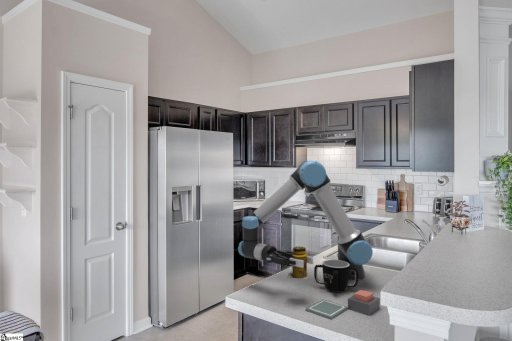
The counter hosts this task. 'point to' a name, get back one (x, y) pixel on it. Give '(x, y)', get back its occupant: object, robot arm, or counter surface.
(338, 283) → the mug
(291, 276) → the condiment
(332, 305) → the slate board
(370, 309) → the button housing
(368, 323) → the counter surface
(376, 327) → the counter surface
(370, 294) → the button
